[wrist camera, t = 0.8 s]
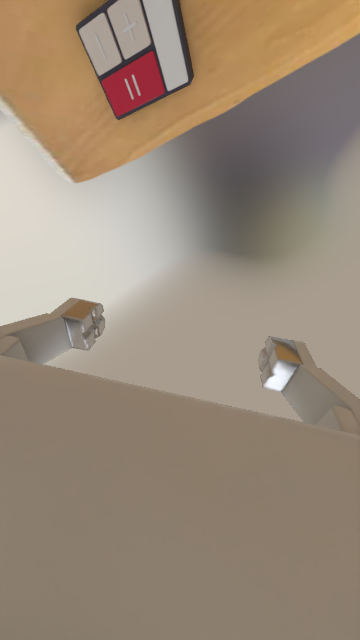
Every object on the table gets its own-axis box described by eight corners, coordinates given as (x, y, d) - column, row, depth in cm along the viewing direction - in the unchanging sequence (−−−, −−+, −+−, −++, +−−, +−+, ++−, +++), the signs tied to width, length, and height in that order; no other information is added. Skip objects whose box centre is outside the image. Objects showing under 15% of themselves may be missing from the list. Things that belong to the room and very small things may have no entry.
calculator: (72, 27, 30) (165, -45, 25) (83, 23, 32) (170, -43, 27) (115, 122, 39) (191, 84, 34) (122, 114, 41) (194, 78, 36)
